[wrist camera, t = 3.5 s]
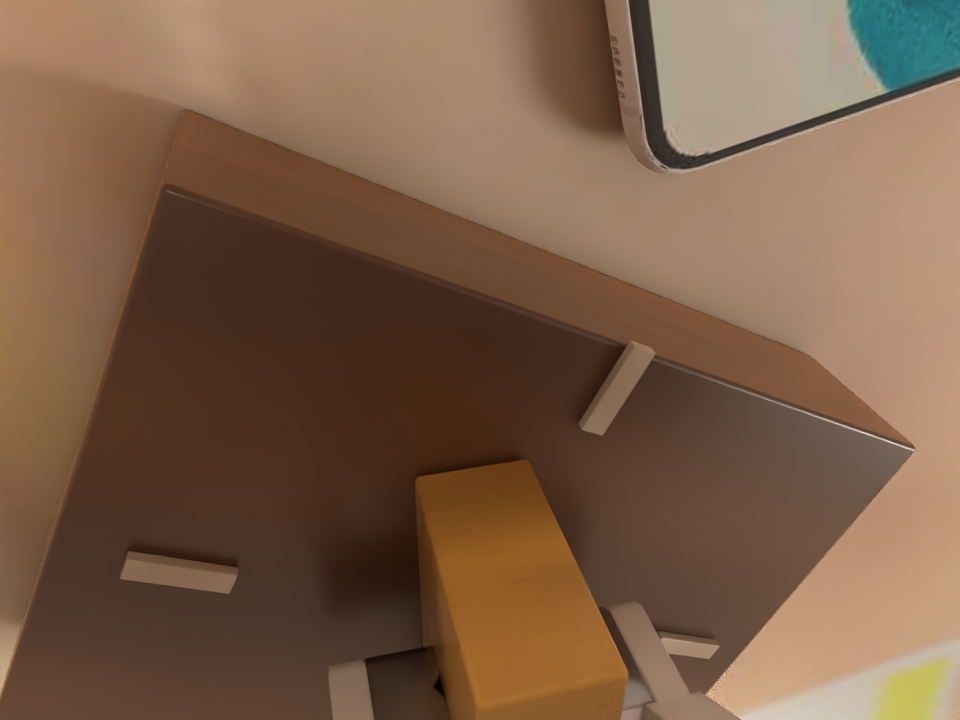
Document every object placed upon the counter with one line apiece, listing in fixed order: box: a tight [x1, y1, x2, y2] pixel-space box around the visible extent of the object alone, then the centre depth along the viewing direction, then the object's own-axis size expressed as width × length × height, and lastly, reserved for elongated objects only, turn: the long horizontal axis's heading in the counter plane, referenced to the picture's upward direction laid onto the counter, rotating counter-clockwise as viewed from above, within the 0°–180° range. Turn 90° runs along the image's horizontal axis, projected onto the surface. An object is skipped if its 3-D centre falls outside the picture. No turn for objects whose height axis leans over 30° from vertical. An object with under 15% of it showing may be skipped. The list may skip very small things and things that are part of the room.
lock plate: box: [0, 110, 915, 720], centre depth 13 cm, size 10×12×3 cm
